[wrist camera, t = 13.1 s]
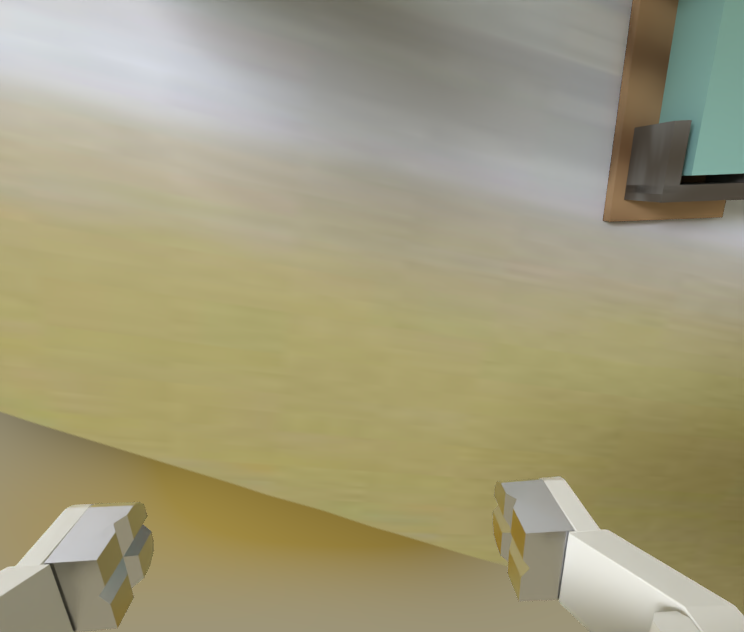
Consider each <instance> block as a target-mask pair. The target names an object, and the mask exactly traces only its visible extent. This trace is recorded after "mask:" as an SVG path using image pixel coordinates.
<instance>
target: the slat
mask: <svg viewBox="0 0 744 632" xmlns="http://www.w3.org/2000/svg"><path fill="white" fill-rule="evenodd" d="M678 120H692V122H691V127H690V133H689V138H688V143H687V149H686V154H685V160H684V165H683V170H682V176H692V175H717V174H742V173H744V0H679V2H678V8H677V14H676V20H675V26H674V33H673V39H672V45H671V51H670V57H669V63H668V70H667V76H666V82H665V88H664V94H663V101H662V107H661V113H660V119H659V123H664V122H670V121H678Z"/></svg>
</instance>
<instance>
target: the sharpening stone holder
mask: <svg viewBox="0 0 744 632" xmlns="http://www.w3.org/2000/svg"><path fill="white" fill-rule="evenodd" d="M678 2H679V0H633V1H632V9H631V16H630V24H629V31H628V38H627V46H626V53H625V60H624V68H623V75H622V83H621V90H620V97H619V105H618V112H617V120H616V127H615V134H614V142H613V149H612V157H611V164H610V171H609V179H608V186H607V194H606V201H605V208H604V216H603V221H608V222H614V221H639V220H664V219H689V218H714V217H722V216H723V212H724V207H725V203H726V200H743V199H744V173H742V174H717V175H692V176H682V170H683V165H684V160H685V154H686V149H687V143H688V138H689V133H690V127H691V122H692V120H678V121H670V122H664V123H659V119H660V113H661V107H662V101H663V94H664V88H665V82H666V76H667V70H668V63H669V57H670V51H671V45H672V39H673V33H674V26H675V20H676V14H677V8H678Z"/></svg>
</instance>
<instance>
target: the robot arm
mask: <svg viewBox="0 0 744 632" xmlns="http://www.w3.org/2000/svg"><path fill="white" fill-rule="evenodd" d="M494 496H495V499H496V501H497V503H498V506H497V507H496V508H495V509H494V511H493V530H494V537H495V541H496V545H497V547H498V550H499V553H500V555H501V556H502V557H503V558H504V559H506V560H507V561H508V572H507V573H508V576H509V578H510V581H511V583H512V586H513V588H514V591H515V593H516V596H517V598H518V601H540V600H541V601H542V600H559V603H560V604H561V605H562V606H563V607H564V608H565V609H566V610H568V611H569V612H570V613H571V614H572V615H573V616H574V617H575V618H576V619H577V620H578V621H579V622H580V623H581V624H582V625H583V626H584V627H585V628H586V629H587V630H588V631H589V632H744V615H743V614H742V613H741V612H740V611H739V610H738V609H737V608H736V606H735V605H733V604H731V603H730V602H728V601H726V600H725V599H723V598H721V597H720V596H718V595H716V594H715V593H713V592H711V591H710V590H708V589H706V588H705V587H703V586H701V585H700V584H698V583H696V582H694V581H693V580H691V579H689V578H688V577H686V576H684V575H683V574H681V573H679V572H678V571H676V570H674V569H673V568H671V567H669V566H668V565H666V564H664V563H663V562H661V561H659V560H658V559H656V558H654V557H653V556H651V555H649V554H648V553H646V552H644V551H643V550H641V549H639V548H637V547H636V546H634V545H632V544H631V543H629V542H627V541H626V540H624V539H622V538H621V537H619V536H617V535H616V534H614V533H612V532H611V531H609V530H601V529H600V528H599V527H598V525H597V524H596V522H595V521H594V520H593V518H592V517H591V516H590V514H589V513H588V511H587V510H586V509H585V507H584V506H583V504H582V503H581V502H580V500H579V499H578V497H577V496H576V495H575V493H574V492H573V490H572V489H571V488H570V486H569V485H568V483H567V482H566V481H565V479H563V478H562V477H547V478H539V479H526V480H510V481H497V482H496V485H495V492H494ZM146 518H147V513H146V509H145V506H144V504H142V503H140V502H127V503H100V504H99V503H97V504H82V505H72V506H70V507H68V508H66V509H65V510H64V511H63V512H62V513H61V515H60V516H59V517H58V518H57V519H56V520H55V521H54V523H53V524H52V525H51V526H50V527H49V528H48V530H47V531H46V532H45V533H44V534H43V535H42V536H41V538H40V539H39V540H38V541H37V542H36V543H35V544H34V546H33V547H32V548H31V549H30V550H29V551H28V552H27V553H26V555H25V556H24V557H23V558H22V559H21V560H20V562H19V563H18V564H17V565H16V566H13V567H7V568H5V569H3V570H2V571H0V632H85V631H96V630H106V629H116V628H118V627H119V625H120V623H121V621H122V619H123V617H124V615H125V613H126V612H127V610H128V608H129V606H130V604H131V602H132V600H133V598H134V596H133V592H132V587H134V586H135V585H136V584H137V583H139V582H140V581H141V580H142V579H143V578H144V577H145V575H146V573H147V571H148V569H149V567H150V564H151V560H152V556H153V551H154V544H153V536H152V532H151V531H150V530H149V529H148V528H146V527H145V526H144V525H143V523H144V521H145V519H146Z"/></svg>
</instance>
